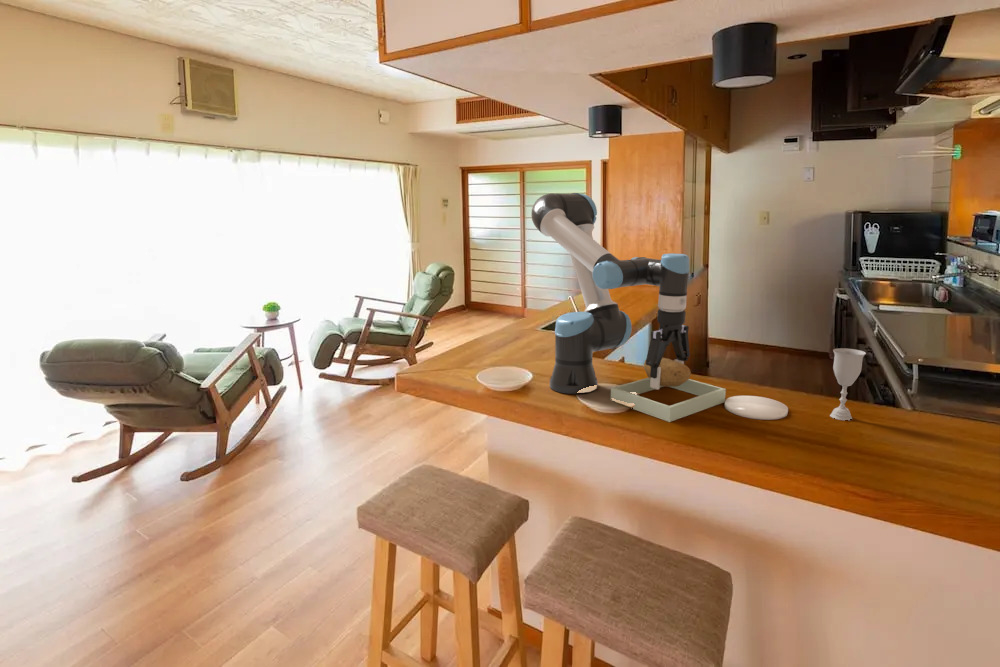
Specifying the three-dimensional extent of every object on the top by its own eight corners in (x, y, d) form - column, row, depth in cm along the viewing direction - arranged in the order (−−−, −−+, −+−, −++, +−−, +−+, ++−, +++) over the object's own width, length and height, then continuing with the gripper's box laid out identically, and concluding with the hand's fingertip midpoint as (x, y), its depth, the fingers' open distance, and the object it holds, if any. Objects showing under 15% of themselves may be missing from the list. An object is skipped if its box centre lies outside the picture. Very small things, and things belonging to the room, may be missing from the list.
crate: (610, 400, 162) (610, 388, 161) (665, 384, 176) (665, 372, 175) (669, 422, 145) (670, 407, 144) (724, 402, 159) (725, 388, 158)
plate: (712, 407, 155) (713, 403, 155) (744, 395, 164) (745, 392, 164) (767, 424, 142) (768, 420, 142) (799, 410, 151) (799, 406, 151)
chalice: (853, 413, 148) (861, 349, 144) (860, 423, 142) (869, 355, 138) (822, 411, 151) (830, 347, 147) (828, 420, 144) (836, 353, 140)
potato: (677, 395, 152) (680, 368, 150) (635, 382, 162) (637, 357, 160) (697, 388, 158) (699, 361, 156) (655, 376, 168) (657, 351, 166)
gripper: (656, 316, 145) (651, 396, 151) (707, 306, 158) (700, 380, 163) (634, 311, 151) (630, 388, 156) (685, 302, 164) (679, 374, 169)
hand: (666, 384), depth 160 cm, fingers closed on potato, 9 cm apart
